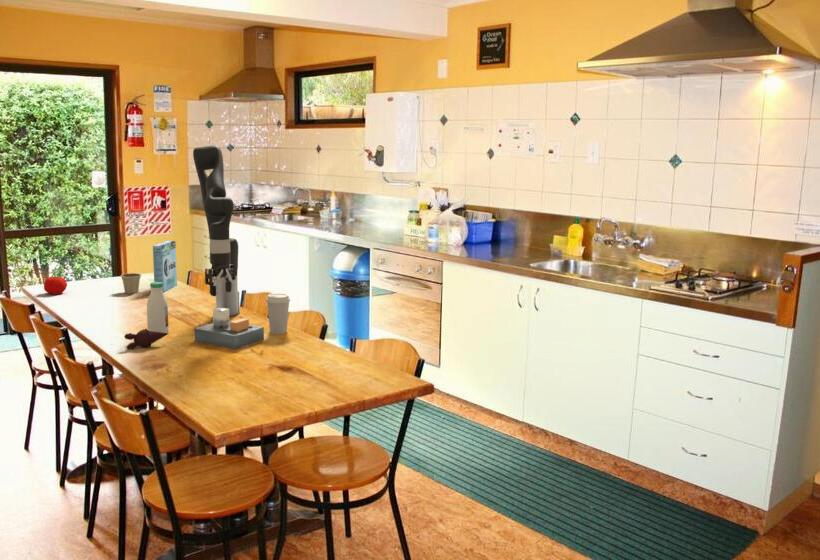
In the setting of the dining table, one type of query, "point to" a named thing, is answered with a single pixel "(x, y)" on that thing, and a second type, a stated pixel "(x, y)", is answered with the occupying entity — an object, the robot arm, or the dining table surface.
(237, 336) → the jig
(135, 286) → the flower pot
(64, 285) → the tomato
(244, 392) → the dining table surface
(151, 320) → the milk bottle
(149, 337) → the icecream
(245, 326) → the block
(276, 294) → the coffee cup
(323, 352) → the dining table surface
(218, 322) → the grey white cylinder
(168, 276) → the gum box
